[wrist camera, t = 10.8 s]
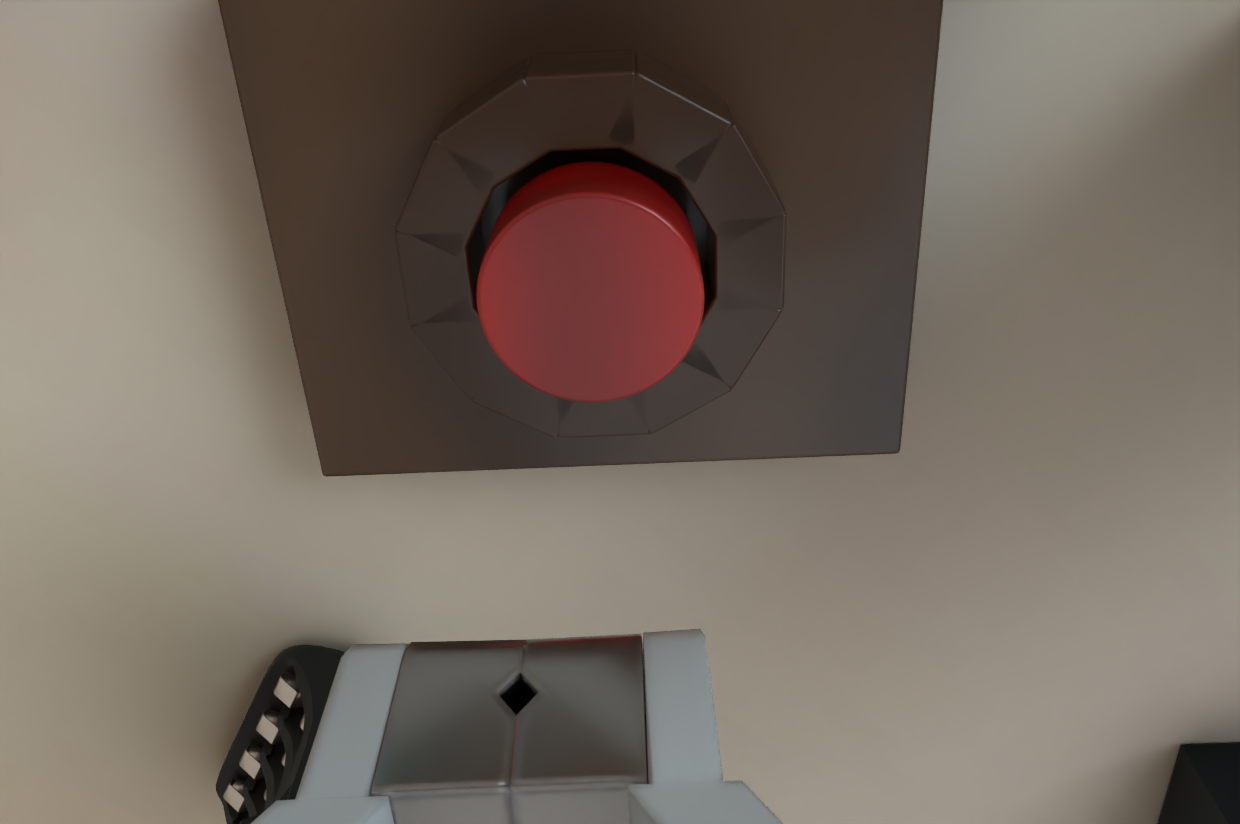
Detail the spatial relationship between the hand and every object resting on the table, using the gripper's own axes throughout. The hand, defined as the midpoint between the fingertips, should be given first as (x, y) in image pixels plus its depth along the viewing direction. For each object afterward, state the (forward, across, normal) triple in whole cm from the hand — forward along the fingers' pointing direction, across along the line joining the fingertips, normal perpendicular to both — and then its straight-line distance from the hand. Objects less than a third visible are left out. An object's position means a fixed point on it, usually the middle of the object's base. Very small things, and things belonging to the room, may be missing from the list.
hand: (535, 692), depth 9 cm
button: (+10, 0, 0) cm, 10 cm away
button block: (+14, 0, 0) cm, 14 cm away
